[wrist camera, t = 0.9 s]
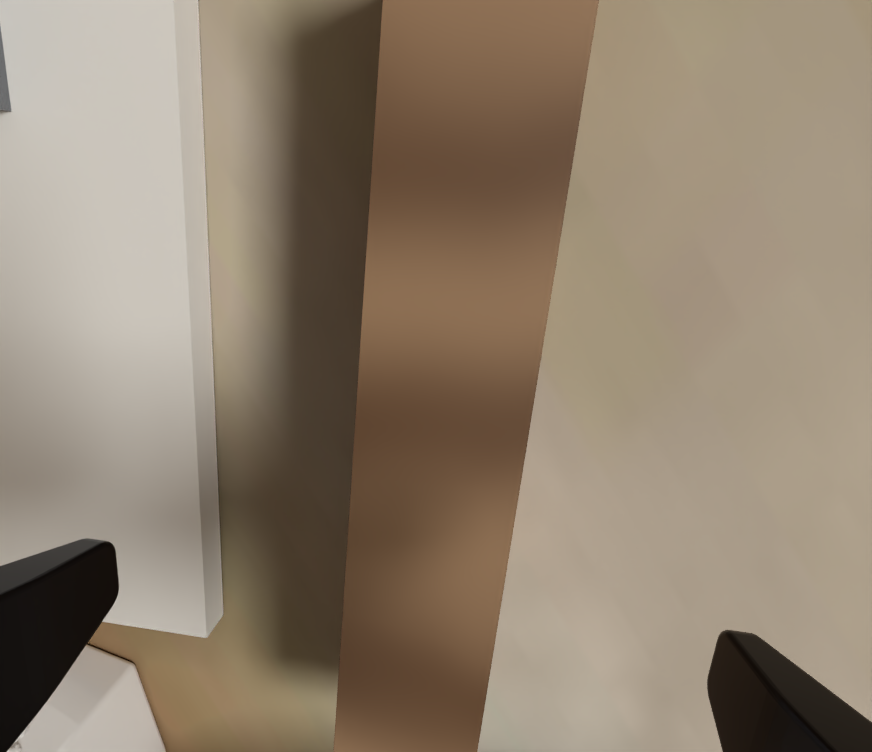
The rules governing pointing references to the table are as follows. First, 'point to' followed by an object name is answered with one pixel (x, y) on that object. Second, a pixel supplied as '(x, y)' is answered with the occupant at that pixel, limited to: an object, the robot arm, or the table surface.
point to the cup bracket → (3, 81)
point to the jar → (94, 711)
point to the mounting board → (109, 302)
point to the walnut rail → (450, 350)
